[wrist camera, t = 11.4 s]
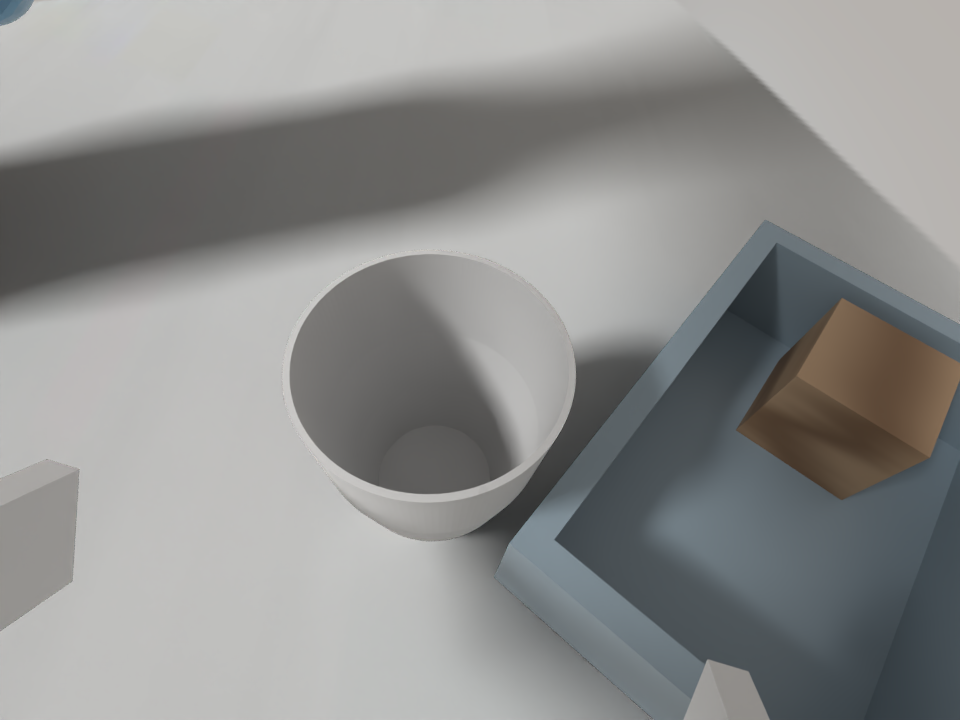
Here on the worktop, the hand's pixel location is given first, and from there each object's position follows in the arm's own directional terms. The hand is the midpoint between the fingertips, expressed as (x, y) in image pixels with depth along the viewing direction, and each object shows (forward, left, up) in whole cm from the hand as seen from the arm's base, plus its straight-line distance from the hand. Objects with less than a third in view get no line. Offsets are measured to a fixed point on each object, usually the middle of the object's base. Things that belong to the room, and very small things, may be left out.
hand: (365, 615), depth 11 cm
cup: (-3, +6, -11) cm, 13 cm away
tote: (+8, +14, -11) cm, 19 cm away
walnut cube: (+8, +19, -10) cm, 23 cm away
